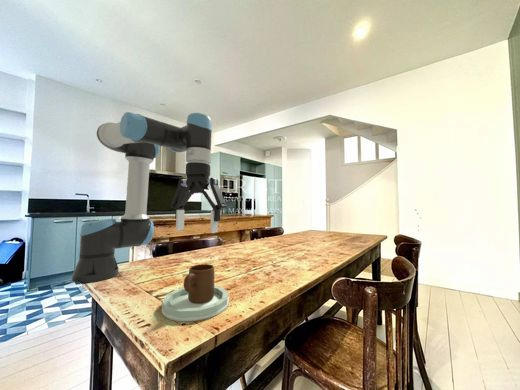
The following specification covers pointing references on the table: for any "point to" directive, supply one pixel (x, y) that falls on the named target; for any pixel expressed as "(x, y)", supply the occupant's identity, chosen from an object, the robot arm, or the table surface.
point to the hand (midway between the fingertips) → (196, 231)
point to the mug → (200, 283)
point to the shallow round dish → (193, 306)
